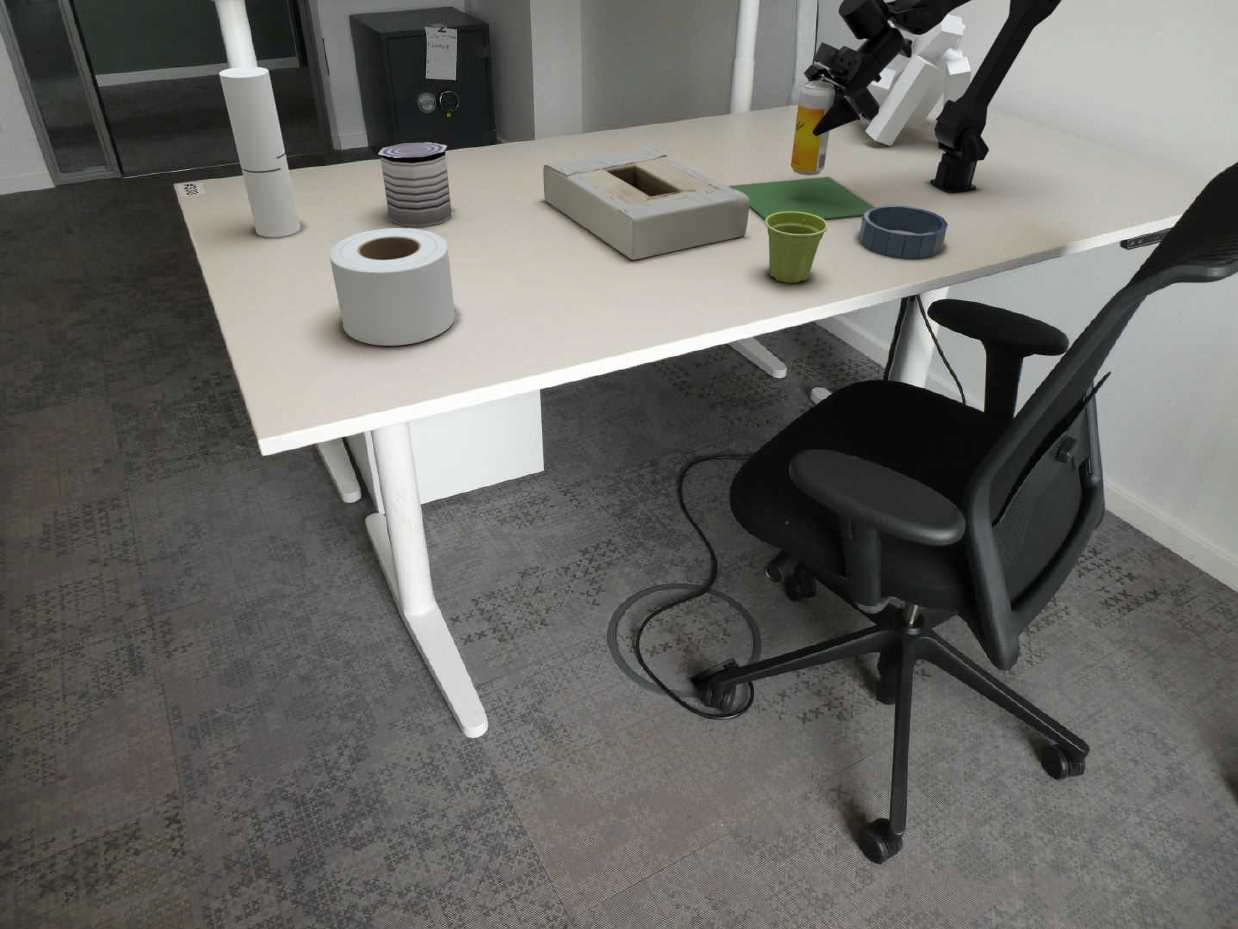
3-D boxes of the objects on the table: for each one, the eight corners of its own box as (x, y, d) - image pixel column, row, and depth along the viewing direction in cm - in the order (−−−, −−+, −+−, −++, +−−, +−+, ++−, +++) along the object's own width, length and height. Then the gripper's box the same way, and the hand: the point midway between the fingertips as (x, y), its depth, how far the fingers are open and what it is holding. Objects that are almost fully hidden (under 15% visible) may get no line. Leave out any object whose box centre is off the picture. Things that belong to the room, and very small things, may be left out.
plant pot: (818, 291, 134) (827, 236, 128) (756, 285, 135) (763, 230, 130) (819, 266, 141) (828, 214, 136) (760, 260, 142) (767, 208, 137)
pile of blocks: (798, 138, 216) (803, 9, 185) (889, 76, 220) (910, -60, 190) (901, 217, 200) (925, 91, 169) (997, 149, 205) (1037, 14, 174)
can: (386, 228, 150) (375, 157, 143) (389, 205, 159) (380, 137, 152) (453, 226, 152) (446, 155, 145) (453, 202, 161) (446, 135, 154)
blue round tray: (909, 223, 157) (914, 201, 155) (958, 252, 147) (964, 229, 144) (844, 232, 153) (848, 210, 151) (889, 263, 143) (894, 239, 140)
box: (748, 236, 151) (647, 180, 173) (753, 192, 146) (648, 140, 168) (634, 265, 141) (542, 202, 163) (635, 219, 136) (540, 160, 158)
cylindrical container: (308, 224, 151) (278, 69, 136) (283, 239, 146) (248, 79, 131) (273, 219, 153) (239, 64, 138) (247, 233, 148) (208, 74, 133)
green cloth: (827, 178, 176) (828, 176, 176) (880, 214, 160) (881, 211, 160) (726, 188, 170) (726, 185, 170) (771, 225, 155) (771, 223, 155)
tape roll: (344, 300, 128) (330, 229, 122) (450, 292, 131) (443, 222, 125) (341, 352, 116) (327, 276, 110) (459, 341, 119) (451, 266, 113)
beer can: (799, 163, 165) (810, 78, 156) (829, 169, 163) (842, 83, 154) (784, 171, 161) (794, 85, 153) (814, 178, 159) (826, 90, 150)
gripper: (821, 14, 156) (757, 84, 160) (876, 35, 141) (805, 112, 145) (853, 59, 162) (791, 126, 166) (908, 84, 148) (840, 156, 152)
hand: (805, 129), depth 157 cm, fingers closed on beer can, 6 cm apart
